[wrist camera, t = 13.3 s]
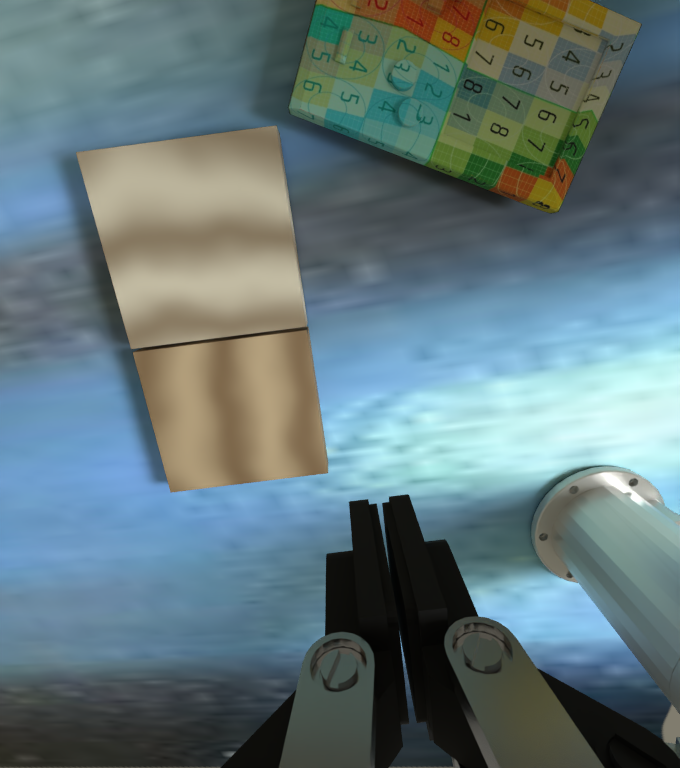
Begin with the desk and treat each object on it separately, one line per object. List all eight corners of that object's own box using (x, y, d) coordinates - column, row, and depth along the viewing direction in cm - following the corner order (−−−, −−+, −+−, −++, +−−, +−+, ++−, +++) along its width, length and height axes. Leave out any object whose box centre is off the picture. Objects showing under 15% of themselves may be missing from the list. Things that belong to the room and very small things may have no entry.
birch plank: (307, 322, 35) (306, 326, 33) (142, 343, 35) (131, 348, 33) (279, 133, 31) (276, 125, 29) (91, 158, 31) (76, 152, 29)
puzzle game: (345, -125, 23) (653, 15, 26) (342, -63, 28) (604, 52, 30) (286, 102, 27) (565, 210, 29) (292, 125, 31) (533, 217, 33)
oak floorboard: (308, 326, 35) (306, 330, 33) (328, 462, 38) (328, 472, 37) (143, 347, 35) (132, 352, 33) (178, 480, 39) (170, 492, 37)
